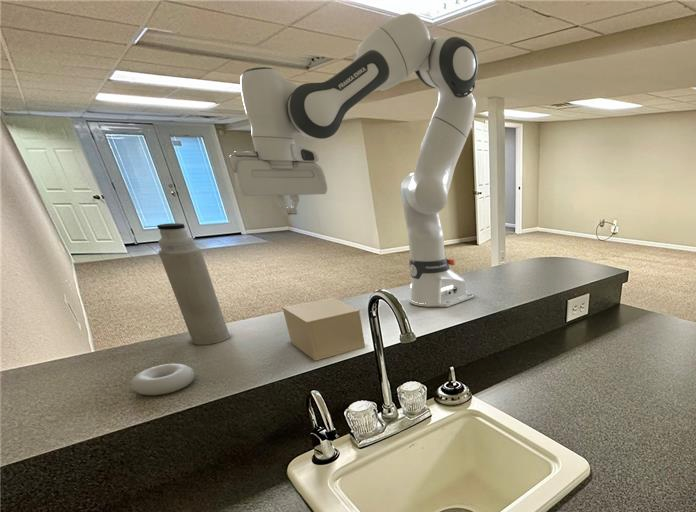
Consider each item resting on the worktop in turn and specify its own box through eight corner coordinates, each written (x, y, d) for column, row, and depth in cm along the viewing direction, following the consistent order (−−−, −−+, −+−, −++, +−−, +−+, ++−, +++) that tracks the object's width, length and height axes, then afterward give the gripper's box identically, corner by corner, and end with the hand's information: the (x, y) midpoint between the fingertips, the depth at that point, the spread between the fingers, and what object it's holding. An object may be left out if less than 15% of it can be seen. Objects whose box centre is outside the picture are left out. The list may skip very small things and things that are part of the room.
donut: (204, 385, 83) (187, 370, 89) (198, 371, 81) (182, 356, 87) (143, 404, 76) (129, 386, 82) (135, 389, 75) (122, 371, 80)
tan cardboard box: (291, 343, 103) (282, 307, 99) (339, 331, 111) (332, 297, 107) (315, 360, 94) (306, 322, 90) (365, 346, 102) (359, 310, 98)
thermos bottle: (208, 332, 108) (169, 221, 95) (236, 334, 108) (200, 222, 94) (184, 343, 101) (138, 225, 88) (214, 345, 101) (172, 226, 87)
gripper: (230, 150, 87) (249, 218, 94) (324, 154, 100) (334, 213, 107) (222, 150, 91) (240, 216, 98) (313, 154, 104) (324, 211, 111)
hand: (290, 215), depth 102 cm, fingers closed
